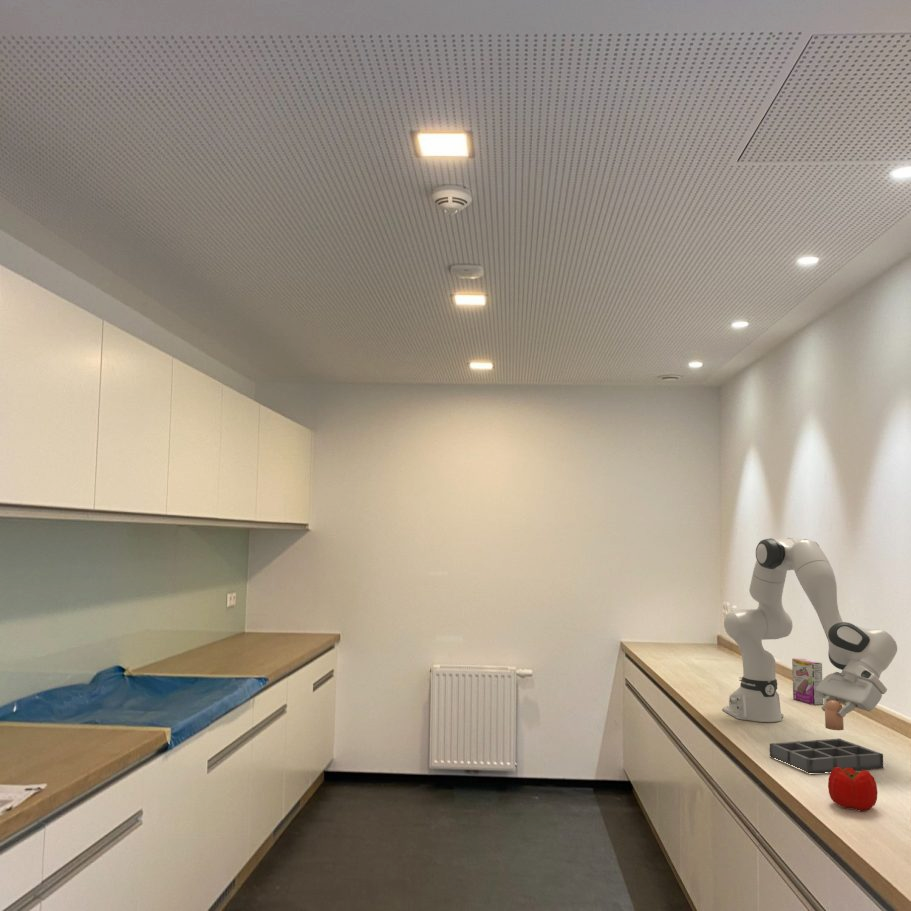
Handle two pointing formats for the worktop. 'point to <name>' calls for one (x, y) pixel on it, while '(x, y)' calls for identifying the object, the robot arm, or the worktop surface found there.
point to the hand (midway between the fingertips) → (831, 712)
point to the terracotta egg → (833, 716)
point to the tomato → (852, 788)
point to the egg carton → (826, 755)
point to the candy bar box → (806, 680)
